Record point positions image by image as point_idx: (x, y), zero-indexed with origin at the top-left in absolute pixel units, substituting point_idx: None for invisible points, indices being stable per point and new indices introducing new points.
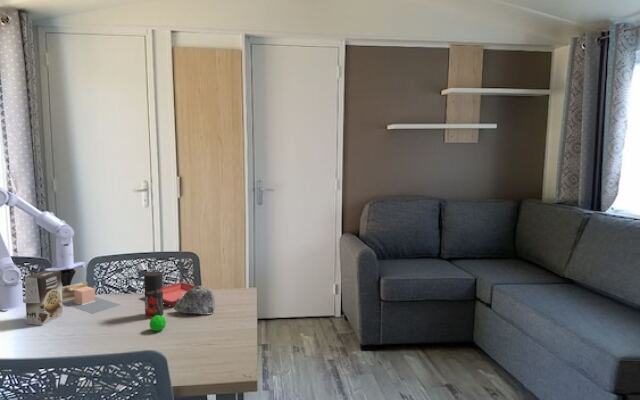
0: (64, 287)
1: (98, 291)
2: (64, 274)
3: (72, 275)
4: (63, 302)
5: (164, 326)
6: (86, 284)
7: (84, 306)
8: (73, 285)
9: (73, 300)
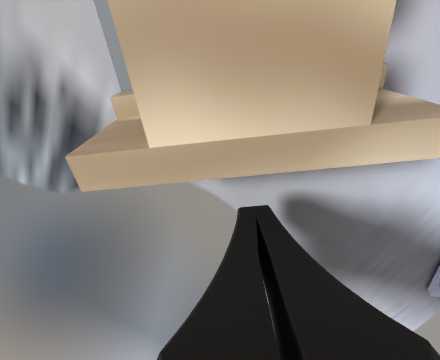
0: (386, 122)
1: (42, 147)
2: (419, 358)
3: (217, 311)
4: None
5: None
6: (93, 142)
7: None
8: (262, 123)
9: None
